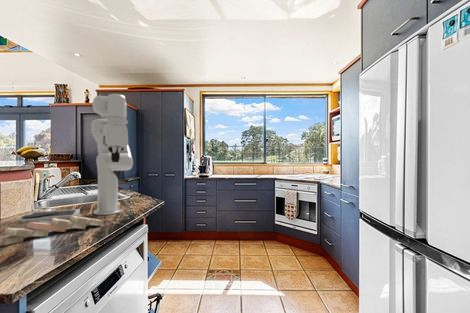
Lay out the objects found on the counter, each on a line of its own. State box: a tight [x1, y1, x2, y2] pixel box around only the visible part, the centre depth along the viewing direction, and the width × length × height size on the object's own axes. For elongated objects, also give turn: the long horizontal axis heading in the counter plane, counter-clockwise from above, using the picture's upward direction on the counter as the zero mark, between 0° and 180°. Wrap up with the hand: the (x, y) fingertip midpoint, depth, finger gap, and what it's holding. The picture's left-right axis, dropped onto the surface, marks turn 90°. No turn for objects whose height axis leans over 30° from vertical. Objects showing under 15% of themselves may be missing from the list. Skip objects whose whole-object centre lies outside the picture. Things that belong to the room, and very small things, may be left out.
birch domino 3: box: [49, 218, 87, 230], centre depth 98 cm, size 2×5×11 cm
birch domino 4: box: [69, 215, 104, 227], centre depth 102 cm, size 2×5×11 cm
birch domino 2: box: [3, 227, 50, 237], centre depth 87 cm, size 2×5×11 cm
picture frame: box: [20, 208, 81, 223], centre depth 121 cm, size 16×3×21 cm
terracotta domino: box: [26, 221, 68, 233], centre depth 93 cm, size 2×5×11 cm
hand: (115, 161), depth 112 cm, fingers closed
